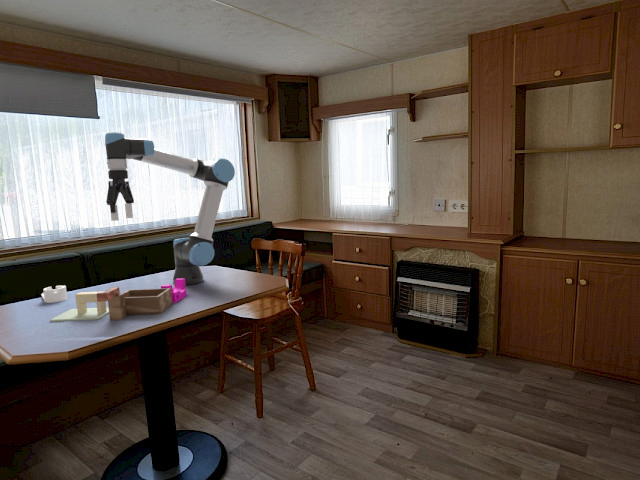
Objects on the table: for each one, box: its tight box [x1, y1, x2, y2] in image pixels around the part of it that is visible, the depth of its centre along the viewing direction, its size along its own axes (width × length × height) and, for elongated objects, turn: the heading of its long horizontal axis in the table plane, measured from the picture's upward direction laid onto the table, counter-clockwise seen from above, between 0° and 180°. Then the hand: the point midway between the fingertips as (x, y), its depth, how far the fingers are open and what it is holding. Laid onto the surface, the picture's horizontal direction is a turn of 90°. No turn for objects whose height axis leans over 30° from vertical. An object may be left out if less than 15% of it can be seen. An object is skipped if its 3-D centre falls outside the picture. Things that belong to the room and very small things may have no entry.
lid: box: [49, 290, 109, 323], centre depth 171 cm, size 15×19×9 cm
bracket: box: [40, 285, 68, 304], centre depth 198 cm, size 20×9×7 cm, turn 39°
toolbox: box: [107, 288, 173, 321], centre depth 172 cm, size 20×18×9 cm
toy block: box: [160, 279, 187, 304], centre depth 192 cm, size 15×6×8 cm, turn 171°
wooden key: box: [97, 286, 120, 302], centre depth 158 cm, size 11×3×3 cm, turn 0°
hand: (122, 219), depth 184 cm, fingers open, 13 cm apart
